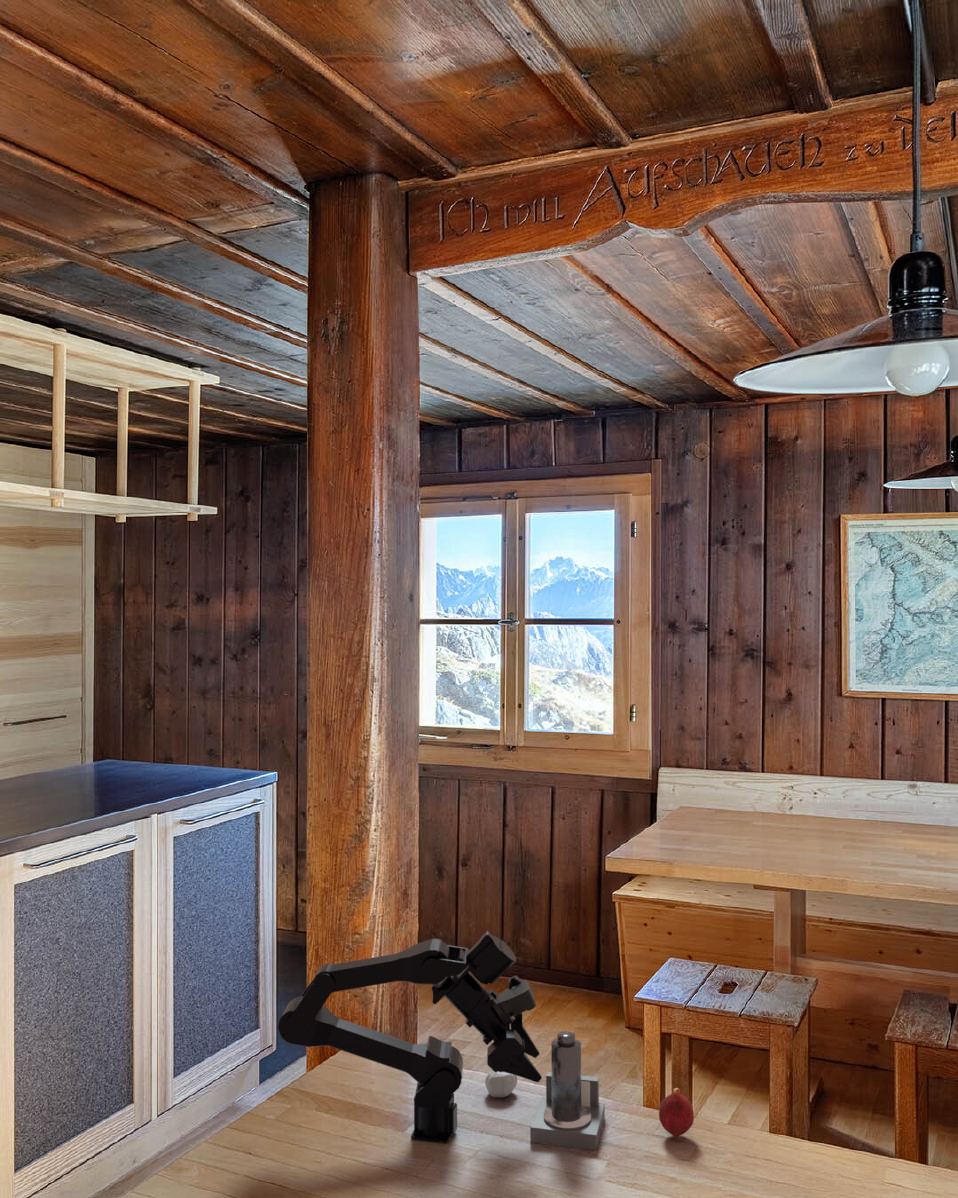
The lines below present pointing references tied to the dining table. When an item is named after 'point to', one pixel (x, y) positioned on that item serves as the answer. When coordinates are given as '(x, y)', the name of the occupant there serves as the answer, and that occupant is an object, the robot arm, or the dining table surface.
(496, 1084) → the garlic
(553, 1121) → the scale pan
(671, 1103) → the onion
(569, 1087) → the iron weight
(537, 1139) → the scale
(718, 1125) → the dining table surface
